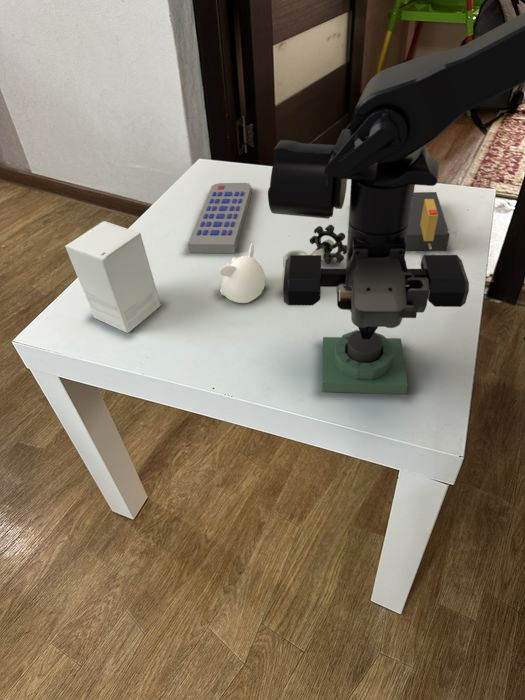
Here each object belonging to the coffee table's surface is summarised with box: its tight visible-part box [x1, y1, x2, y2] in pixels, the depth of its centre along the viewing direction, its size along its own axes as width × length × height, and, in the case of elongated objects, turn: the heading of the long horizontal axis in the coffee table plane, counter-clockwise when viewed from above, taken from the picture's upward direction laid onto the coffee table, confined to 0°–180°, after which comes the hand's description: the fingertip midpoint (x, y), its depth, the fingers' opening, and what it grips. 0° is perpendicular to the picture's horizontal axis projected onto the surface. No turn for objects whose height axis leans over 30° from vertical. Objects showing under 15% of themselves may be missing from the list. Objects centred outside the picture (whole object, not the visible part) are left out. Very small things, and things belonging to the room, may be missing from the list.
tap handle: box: [420, 199, 438, 241], centre depth 77 cm, size 5×1×5 cm, turn 174°
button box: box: [321, 329, 409, 395], centre depth 61 cm, size 10×8×4 cm
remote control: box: [187, 182, 252, 254], centre depth 91 cm, size 8×23×2 cm, turn 173°
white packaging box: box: [64, 220, 161, 334], centre depth 70 cm, size 7×7×13 cm
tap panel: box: [405, 191, 458, 252], centre depth 83 cm, size 15×18×3 cm
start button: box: [347, 331, 382, 363], centre depth 60 cm, size 4×4×2 cm
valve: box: [281, 224, 347, 282], centre depth 74 cm, size 7×7×12 cm
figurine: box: [218, 242, 266, 304], centre depth 73 cm, size 8×6×7 cm
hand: (365, 337), depth 59 cm, fingers closed
